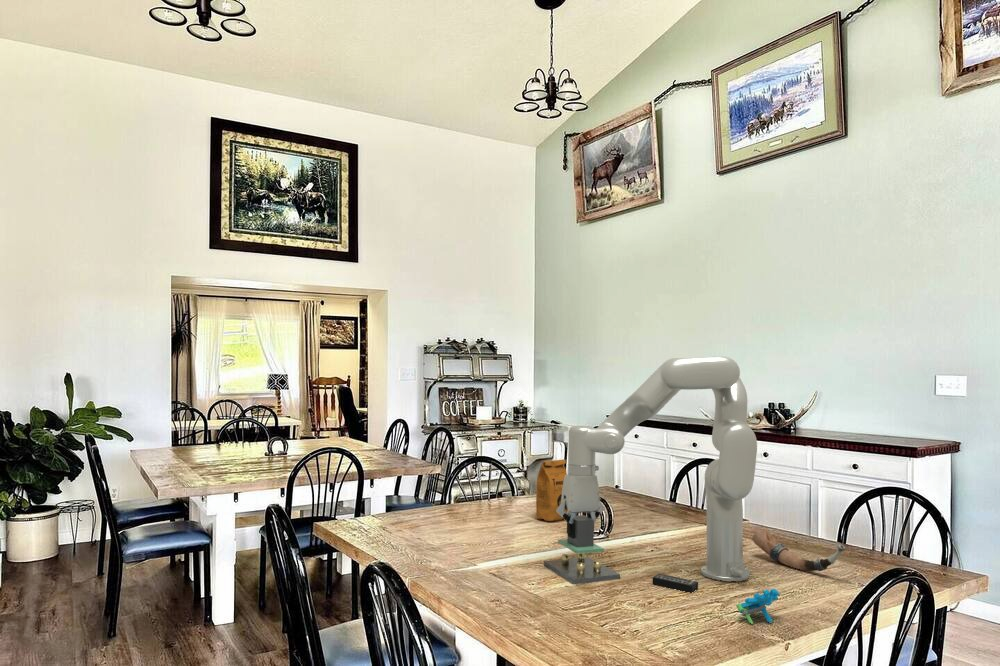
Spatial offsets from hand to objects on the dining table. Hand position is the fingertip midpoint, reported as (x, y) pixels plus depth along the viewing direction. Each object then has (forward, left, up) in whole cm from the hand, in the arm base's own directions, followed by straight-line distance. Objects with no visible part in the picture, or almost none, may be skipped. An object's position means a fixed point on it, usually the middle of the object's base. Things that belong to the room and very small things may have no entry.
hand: (580, 535), depth 191 cm
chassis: (0, 0, -10) cm, 10 cm away
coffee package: (+61, -22, -10) cm, 66 cm away
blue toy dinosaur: (-45, -21, -10) cm, 51 cm away
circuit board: (0, 0, -3) cm, 3 cm away
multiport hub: (-20, -17, -11) cm, 28 cm away
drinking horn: (-18, -60, -10) cm, 64 cm away
